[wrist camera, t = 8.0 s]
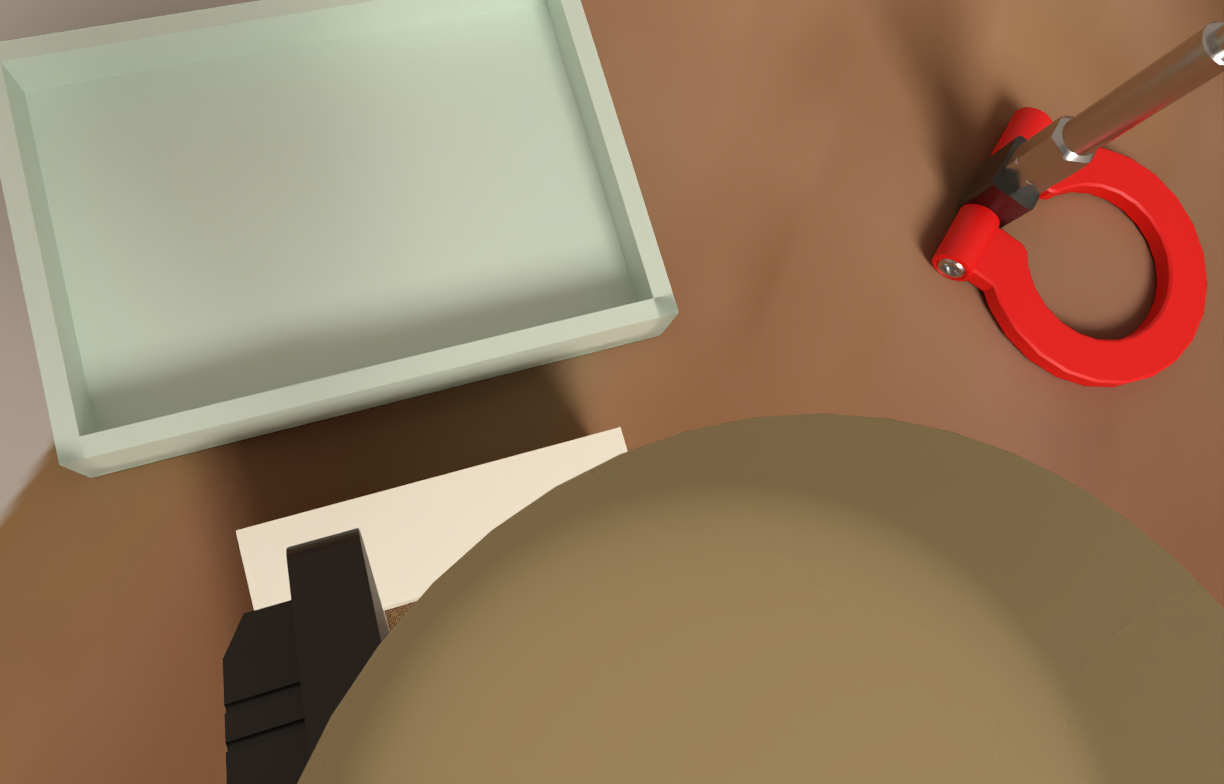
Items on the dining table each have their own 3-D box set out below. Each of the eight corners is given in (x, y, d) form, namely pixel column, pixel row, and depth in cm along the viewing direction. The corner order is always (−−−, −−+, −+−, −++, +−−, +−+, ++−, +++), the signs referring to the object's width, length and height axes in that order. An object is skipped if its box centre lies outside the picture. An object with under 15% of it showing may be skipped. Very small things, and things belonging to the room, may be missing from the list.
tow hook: (1217, 246, 37) (1013, 98, 37) (1629, 76, 25) (1331, -152, 24) (1127, 437, 35) (907, 284, 34) (1530, 355, 23) (1199, 113, 22)
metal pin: (424, 866, 16) (419, 2126, 3) (362, 615, 17) (98, 591, 3) (662, 783, 17) (1574, 1398, 4) (595, 547, 18) (1146, 305, 4)
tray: (90, 478, 29) (59, 464, 26) (8, 90, 31) (-28, 45, 28) (660, 335, 32) (678, 312, 30) (555, -2, 34) (565, -49, 32)
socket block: (347, 905, 27) (333, 952, 24) (261, 542, 29) (235, 530, 25) (694, 782, 30) (734, 806, 26) (597, 451, 31) (620, 427, 27)
